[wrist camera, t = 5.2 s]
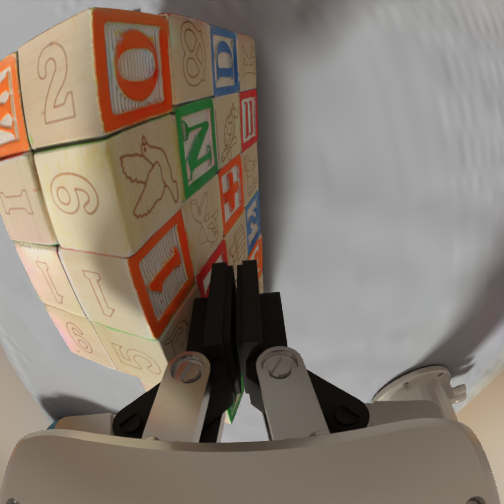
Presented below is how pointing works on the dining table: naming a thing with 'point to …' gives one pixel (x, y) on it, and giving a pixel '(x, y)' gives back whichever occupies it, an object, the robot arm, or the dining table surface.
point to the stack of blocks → (130, 177)
